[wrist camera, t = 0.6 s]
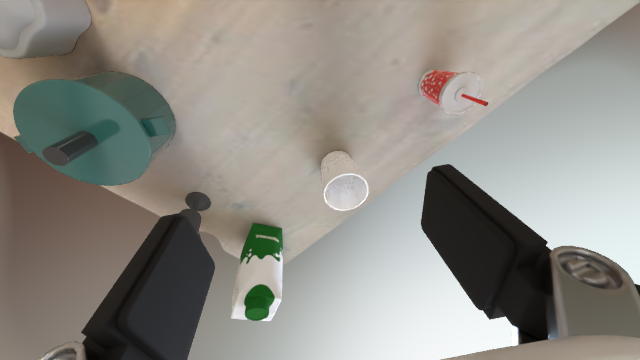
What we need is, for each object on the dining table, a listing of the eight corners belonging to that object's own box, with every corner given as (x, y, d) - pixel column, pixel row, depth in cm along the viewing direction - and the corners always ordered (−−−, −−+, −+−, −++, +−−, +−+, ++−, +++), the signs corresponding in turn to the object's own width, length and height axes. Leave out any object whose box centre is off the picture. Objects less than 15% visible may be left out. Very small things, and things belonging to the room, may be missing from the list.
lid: (-11, 85, 27) (-81, 99, 22) (118, 70, 28) (79, 80, 23) (73, 187, 35) (37, 215, 30) (172, 174, 36) (152, 198, 31)
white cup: (316, 181, 50) (322, 211, 42) (318, 147, 46) (325, 173, 38) (352, 180, 51) (364, 210, 43) (357, 147, 47) (372, 173, 39)
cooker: (40, 79, 35) (-33, 94, 27) (170, 64, 36) (136, 73, 28) (97, 159, 42) (52, 189, 34) (203, 145, 43) (184, 171, 35)
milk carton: (286, 226, 56) (286, 309, 40) (276, 251, 61) (272, 335, 44) (249, 219, 54) (232, 304, 37) (241, 245, 58) (223, 332, 41)
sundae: (205, 184, 48) (175, 240, 35) (220, 209, 51) (198, 267, 39) (174, 192, 48) (134, 250, 35) (191, 216, 51) (160, 276, 39)
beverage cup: (454, 70, 41) (520, 87, 29) (435, 104, 44) (488, 131, 32) (425, 59, 40) (483, 71, 28) (407, 95, 43) (453, 120, 31)
